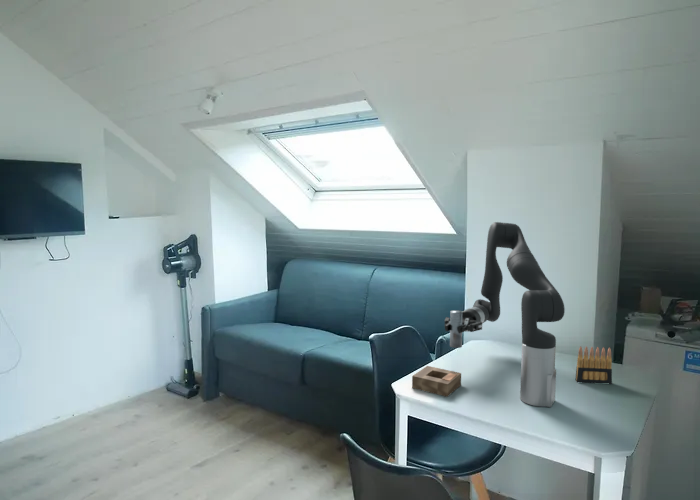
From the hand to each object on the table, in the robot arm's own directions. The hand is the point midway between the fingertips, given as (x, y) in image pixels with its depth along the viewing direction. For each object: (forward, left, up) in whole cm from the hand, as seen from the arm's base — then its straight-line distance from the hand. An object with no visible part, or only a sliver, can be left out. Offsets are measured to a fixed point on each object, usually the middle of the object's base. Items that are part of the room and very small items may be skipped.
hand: (453, 329), depth 155 cm
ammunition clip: (-40, -22, -17) cm, 49 cm away
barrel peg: (0, -3, -7) cm, 7 cm away
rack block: (+1, +10, -17) cm, 20 cm away
